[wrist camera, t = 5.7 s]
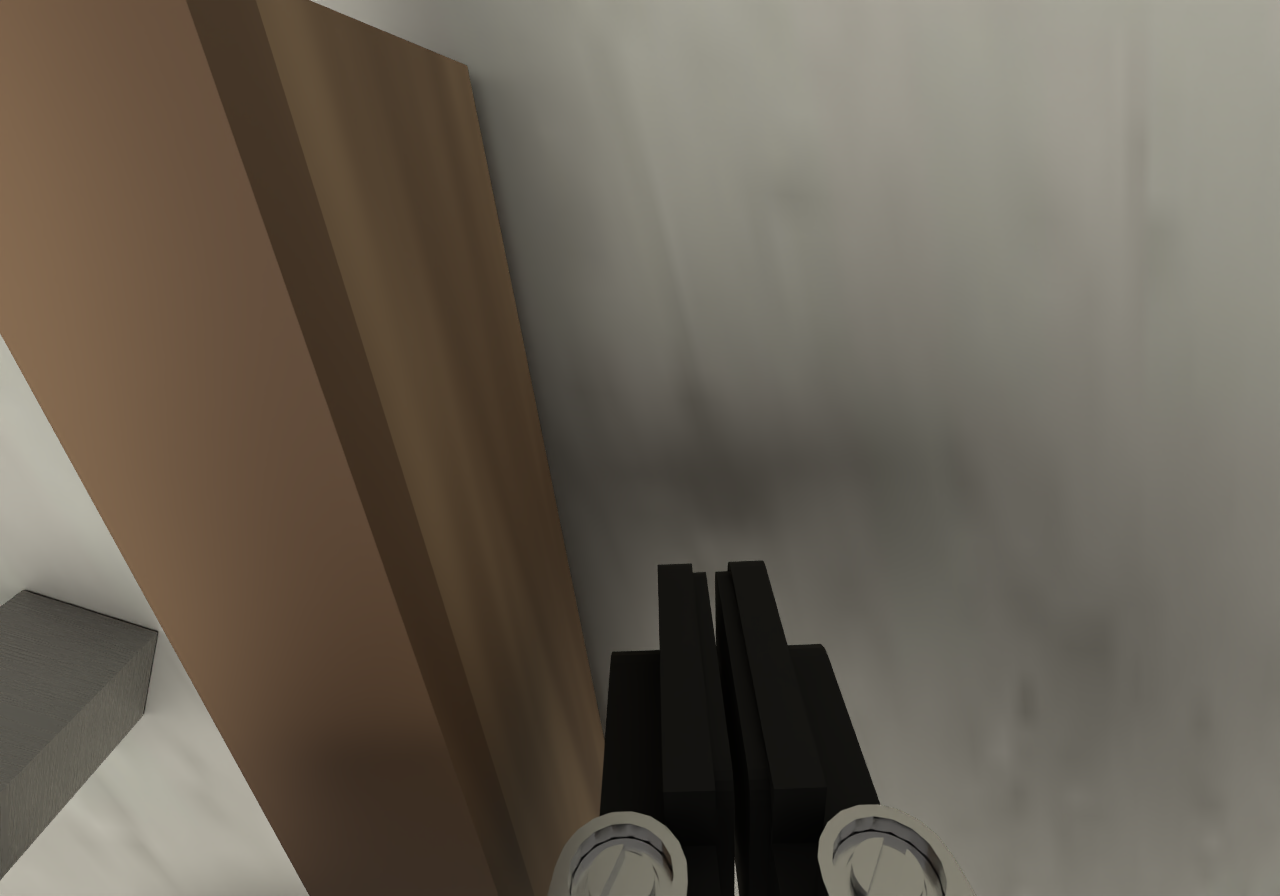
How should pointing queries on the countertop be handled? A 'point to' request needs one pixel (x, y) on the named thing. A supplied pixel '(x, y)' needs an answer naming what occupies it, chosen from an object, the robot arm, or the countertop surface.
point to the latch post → (61, 707)
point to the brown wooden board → (306, 420)
